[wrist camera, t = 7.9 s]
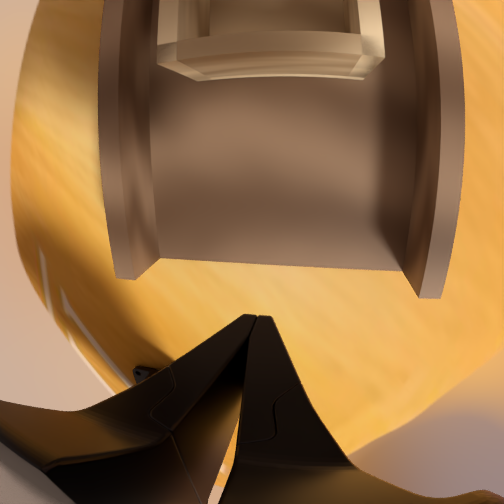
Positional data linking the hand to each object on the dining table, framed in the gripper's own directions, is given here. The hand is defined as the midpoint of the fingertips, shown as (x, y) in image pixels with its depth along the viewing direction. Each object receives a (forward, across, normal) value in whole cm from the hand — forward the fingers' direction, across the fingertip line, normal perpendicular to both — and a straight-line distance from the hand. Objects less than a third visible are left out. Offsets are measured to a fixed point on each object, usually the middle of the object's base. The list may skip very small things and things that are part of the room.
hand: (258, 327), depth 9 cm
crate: (+7, 0, -12) cm, 14 cm away
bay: (+8, 0, -8) cm, 11 cm away
